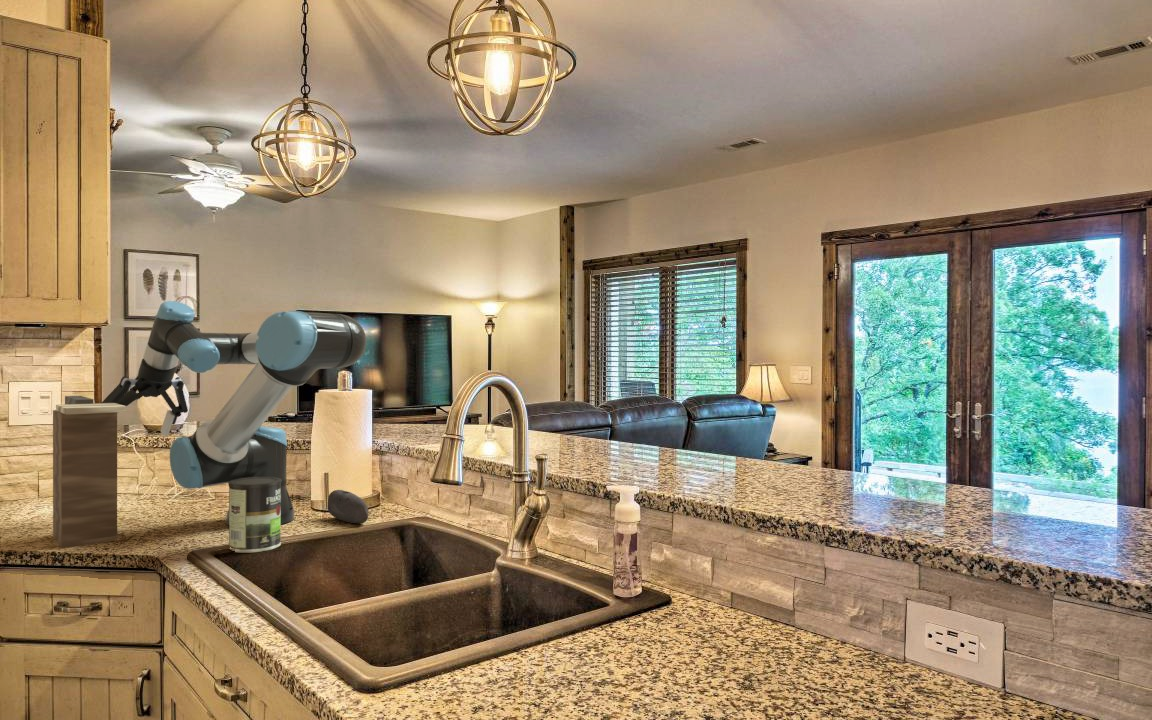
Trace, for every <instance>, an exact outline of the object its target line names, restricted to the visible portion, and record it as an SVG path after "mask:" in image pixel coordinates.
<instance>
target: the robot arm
mask: <svg viewBox="0 0 1152 720" xmlns="http://www.w3.org/2000/svg"><path fill="white" fill-rule="evenodd" d="M194 317H195V311H194V309H193V308H192V307H191V306H190V305H187V304H185V303H183V302H180V301H174V300H173V301H172V300H168V301H163V302H162V303H161V304H160V305H159V308H158V311H157V313H156V314H155V315H154V320H153V324H152V327H151V330H150V334H149V337H148V340H147V343H146V347H145V350H144V353H143V358H142V359H141V363H140V365H139V368H138V372H137V376H136V377H135V378H134V379H133V378H128V376H126V375H124V376H122V377H121V379H120V381H119V384H118V385H116V387H115V388H114V389H113V390H112V391H111V392H109V394H108V395H106V397H105V398H104V399H103V400H102V402H101V403H116V404H120V405H124V406H126V407H128V406H129V405H130V404H132V403H133V402H135V401H137V400H140V399H141V398H142V397H144V398H149V397H152V398H158V397H159V396H162V398H163V400H164V401H165V403H166V404H167V406H168V407H169V408H170V409H167V411H166V414H165V416H164V420H163V423H162V425H161V427H160V433H161V435H162V436H163V437H164V438H168V437H169V434H170V431H171V428H172V426H173V425H175V424H176V422H177V419H178V418H179V417H181V416H182V413H184V414H186V413H188V411H189V410H188V405H187V402H186V398H185V393H184V386H185V383H184V381H183V380H182V379H181V378H180V377H179V376H177V377H175V378H174V376H175V374H176V370H177V366H178V364H179V362H180V363H181V364H182V365H184V366H185V367H187V368H188V369H189V370H190V371H192V372H194V373H196V374H198V373H199V374H202V373H206V372H207V371H211V370H213V369H214V368H215V367H216V366H217V365H255V366H254V367H253V368H252V369H251V371H250V372H249V373H248V375H247V376H246V377H245V379H244V380H243V382H241V383H240V385H239V386H238V388H237V389H236V390H235V392H234V393H233V394H232V395H231V397H230V398H229V399H228V400H227V402H226V403H225V405H224V406H223V407H222V408H221V409H220V411H219V413H218V414H216V416H215V418H214V419H210V420H207V421H205V422H203V423H202V424H201V425H199V427H198V428H197V429H196V430H195V432H194V433H192V434H191V435H190V436H187V435H183V436H181V437H177V438H175V439H174V440H173V442H172V443H171V445H170V449H169V465H170V468H171V473H172V475H173V477H174V480H175V482H177V484H178V485H180V486H181V487H182V488H184V489H187V490H188V489H189V490H190V489H192V490H193V489H202V488H207V487H208V488H209V487H213V486H218V485H225V484H228V482H229V481H231V480H235V479H240V478H248V477H277V478H280V479H281V525H284V524H286V523H290V522H291V521H293V520H294V518H295V509H294V507H293V503H292V500H291V496H290V494H289V492H288V488H287V453H288V451H287V448H288V443H287V433H286V431H285V429H283V428H280V427H274V426H273V427H272V426H262V425H263V424H264V423H265V422H266V420H267V419H268V418H269V417H270V416H271V414H273V412H274V410H275V409H276V408H277V407H278V406H279V404H280V403H281V402H282V401H283V400H284V399H285V397H286V396H287V395H288V394H289V392H290V391H291V390H292V388H294V387H300V386H303V385H304V384H306V383H307V382H308V381H309V380H310V378H312V376H313V375H314V374H315V373H316V372H317V371H318V370H322V369H323V370H324V369H325V370H326V369H329V370H330V369H342V368H346V367H349V366H352V365H354V364H356V363H357V362H359V360H360V359H361V358H362V357H363V354H365V351H366V348H367V337H366V335H367V334H366V333H365V330H364V328H363V327H362V325H361V324H360V322H358V321H357V320H356V319H354V318H352V317H351V316H349V315H345V314H342V313H323V312H306V311H299V310H289V311H277V312H275V313H273V314H271V315H269V316H268V317H267V318H265V319H264V321H263V322H262V324H261V325H260V327H259V329H258V331H255V332H243V333H239V332H238V333H237V332H235V333H233V332H232V333H231V332H229V333H228V332H227V333H225V332H201V331H200V330H199V329H198V328H197V327H196V326H195V325H194V324H193V321H194ZM171 387H172V388H174V393H175V396H176V401H177V404H178V405H177V406H176V404H175V403H174V401H173V400H172V398H171V397H170V395H169V394H168V393H167V390H168V389H170V388H171ZM137 392H138V393H137ZM118 413H119V412H117V414H118ZM225 520H226V521H225V522H226V525H227V526H229V508H228V509H227V512H226V519H225Z"/></svg>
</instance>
